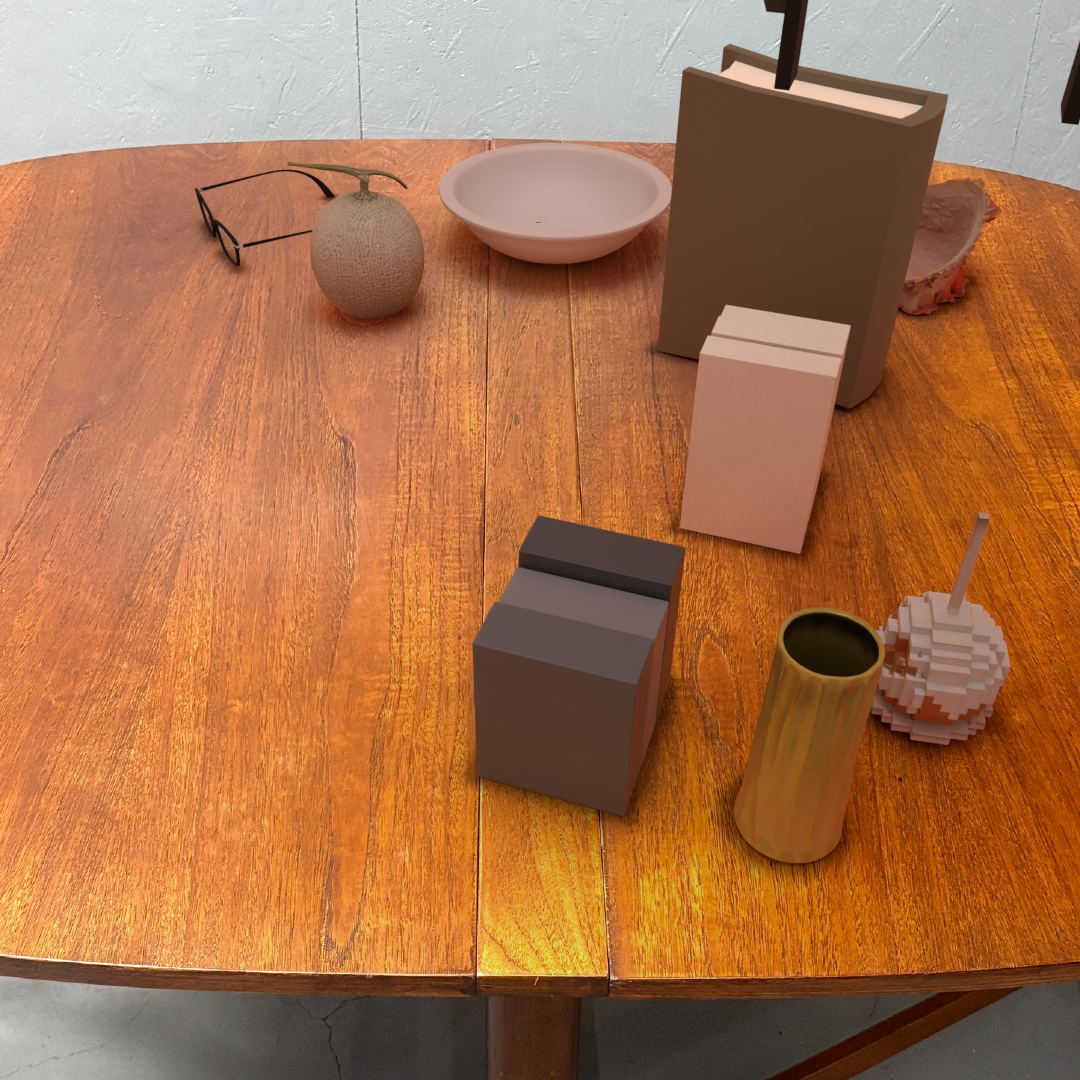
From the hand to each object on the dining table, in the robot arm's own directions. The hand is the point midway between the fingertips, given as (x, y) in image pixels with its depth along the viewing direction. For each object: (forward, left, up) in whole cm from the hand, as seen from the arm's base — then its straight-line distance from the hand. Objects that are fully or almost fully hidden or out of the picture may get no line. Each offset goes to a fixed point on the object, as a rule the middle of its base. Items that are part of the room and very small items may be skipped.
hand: (923, 98), depth 57 cm
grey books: (-15, +12, -35) cm, 40 cm away
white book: (+7, +6, -35) cm, 36 cm away
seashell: (+53, -1, -35) cm, 63 cm away
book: (+32, +8, -35) cm, 48 cm away
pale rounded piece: (-6, -8, -35) cm, 36 cm away
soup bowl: (+48, +34, -35) cm, 68 cm away
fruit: (+29, +46, -35) cm, 65 cm away
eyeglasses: (+41, +62, -35) cm, 82 cm away
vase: (-18, -1, -35) cm, 39 cm away
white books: (+13, +6, -35) cm, 37 cm away
